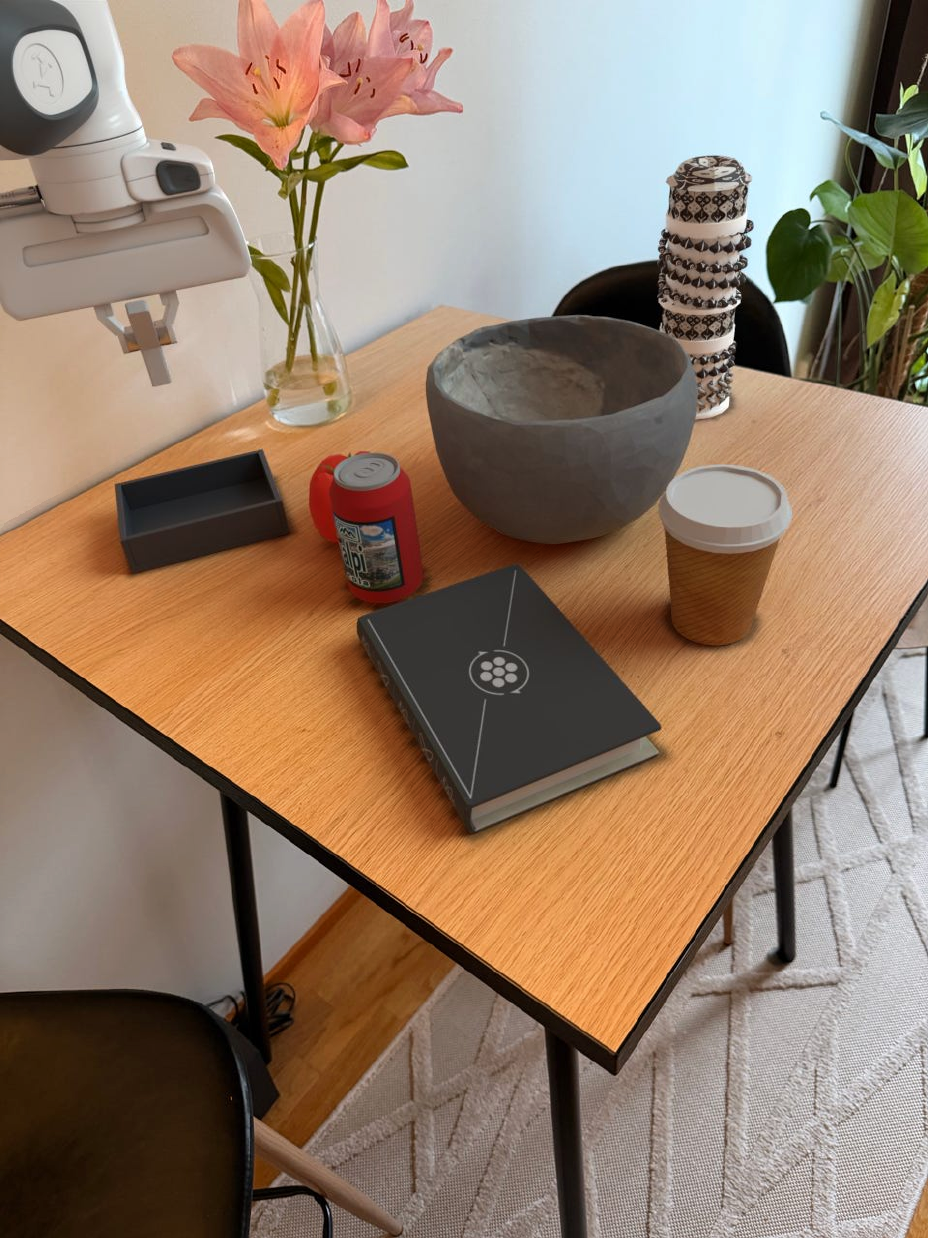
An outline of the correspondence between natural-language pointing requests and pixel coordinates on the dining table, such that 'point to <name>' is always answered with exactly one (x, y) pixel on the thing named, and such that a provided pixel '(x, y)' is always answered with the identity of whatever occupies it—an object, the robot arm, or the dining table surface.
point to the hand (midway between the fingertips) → (150, 346)
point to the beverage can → (376, 527)
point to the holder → (198, 510)
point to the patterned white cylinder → (705, 269)
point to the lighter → (148, 342)
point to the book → (504, 695)
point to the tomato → (325, 496)
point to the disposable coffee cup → (720, 547)
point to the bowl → (561, 423)
